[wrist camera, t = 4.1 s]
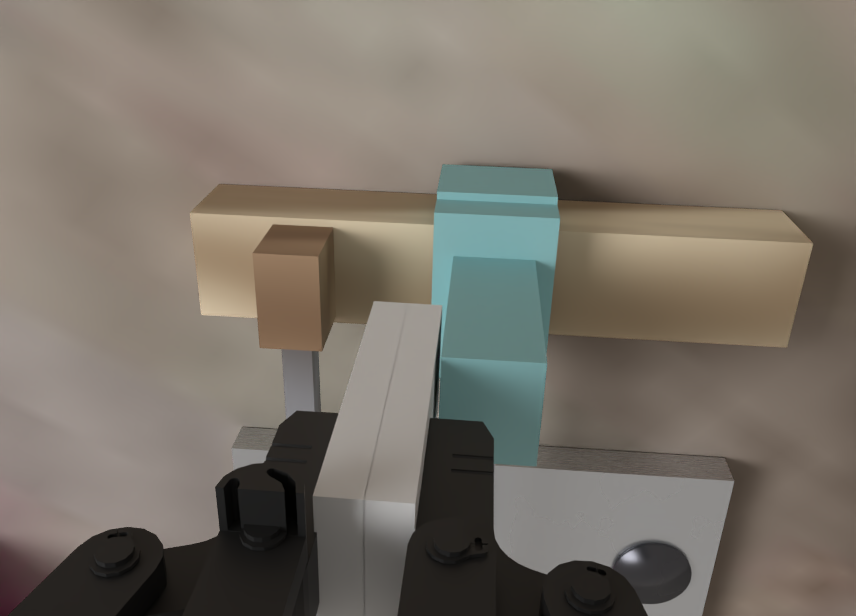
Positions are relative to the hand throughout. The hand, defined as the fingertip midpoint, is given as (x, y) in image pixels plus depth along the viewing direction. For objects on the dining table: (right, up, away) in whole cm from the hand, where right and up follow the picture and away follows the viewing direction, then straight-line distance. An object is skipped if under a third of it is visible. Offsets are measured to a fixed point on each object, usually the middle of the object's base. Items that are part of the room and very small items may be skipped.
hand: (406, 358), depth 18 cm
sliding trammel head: (+2, -1, +7) cm, 8 cm away
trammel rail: (+2, -2, +8) cm, 8 cm away
